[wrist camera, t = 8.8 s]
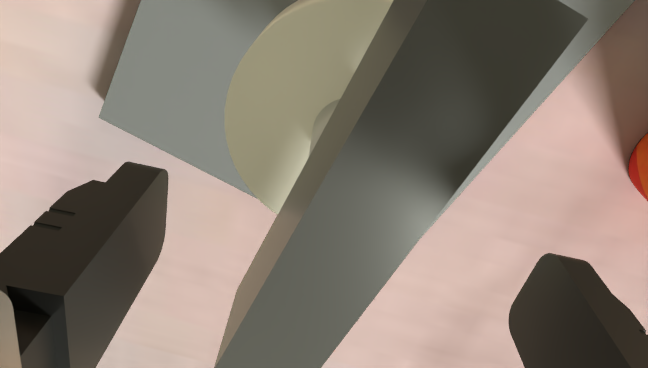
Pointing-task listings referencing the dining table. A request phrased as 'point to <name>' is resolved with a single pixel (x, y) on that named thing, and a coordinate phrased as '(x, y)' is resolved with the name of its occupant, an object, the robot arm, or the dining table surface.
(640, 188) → the paper cup
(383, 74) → the coupling
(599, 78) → the dining table surface
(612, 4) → the post board
